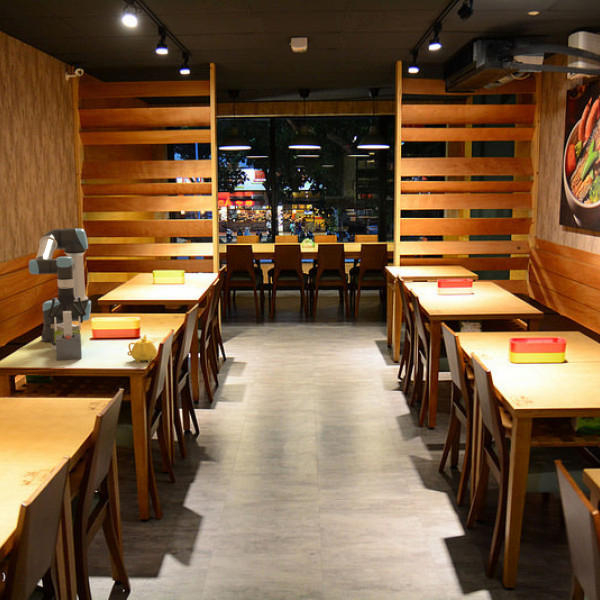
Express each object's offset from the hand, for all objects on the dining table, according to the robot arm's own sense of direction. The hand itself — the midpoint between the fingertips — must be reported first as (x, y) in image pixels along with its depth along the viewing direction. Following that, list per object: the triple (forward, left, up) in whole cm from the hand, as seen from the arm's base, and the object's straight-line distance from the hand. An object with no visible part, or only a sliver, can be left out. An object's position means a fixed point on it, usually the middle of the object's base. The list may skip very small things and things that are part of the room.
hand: (68, 329), depth 358 cm
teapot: (-3, +38, -16) cm, 41 cm away
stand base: (0, 0, -16) cm, 16 cm away
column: (0, 0, -14) cm, 14 cm away
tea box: (-17, -10, -16) cm, 25 cm away
